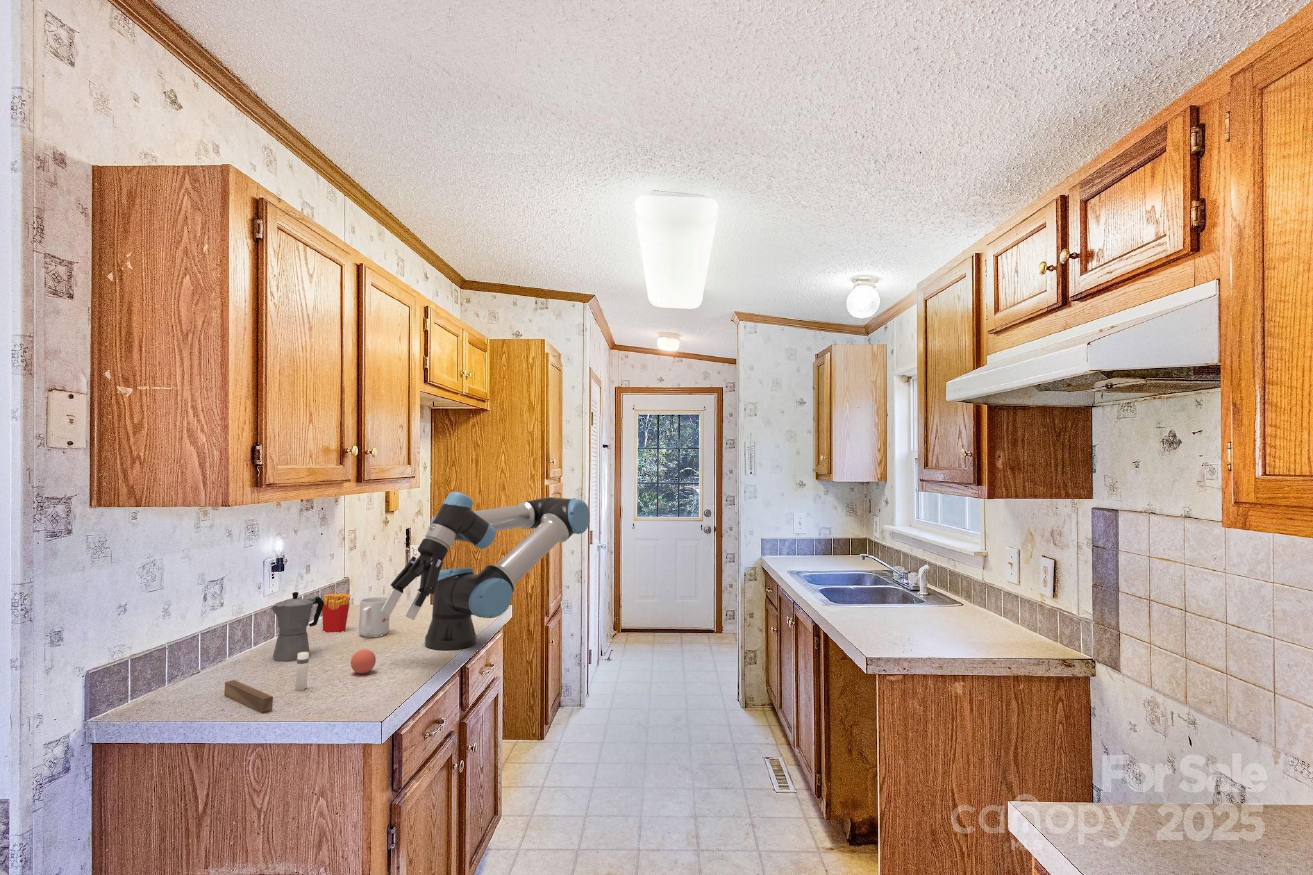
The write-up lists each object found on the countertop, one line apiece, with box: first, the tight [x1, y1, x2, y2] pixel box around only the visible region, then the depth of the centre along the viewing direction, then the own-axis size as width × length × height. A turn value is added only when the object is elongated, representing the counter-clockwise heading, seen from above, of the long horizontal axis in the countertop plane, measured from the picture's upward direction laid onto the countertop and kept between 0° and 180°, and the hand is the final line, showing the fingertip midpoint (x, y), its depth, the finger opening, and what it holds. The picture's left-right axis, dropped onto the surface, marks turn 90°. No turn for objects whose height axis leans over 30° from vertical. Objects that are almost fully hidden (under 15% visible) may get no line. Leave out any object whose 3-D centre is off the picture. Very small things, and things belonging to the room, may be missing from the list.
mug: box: [358, 596, 391, 638], centre depth 206 cm, size 12×9×11 cm
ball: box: [350, 648, 377, 675], centre depth 169 cm, size 6×6×6 cm
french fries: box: [321, 592, 351, 633], centre depth 211 cm, size 8×4×12 cm, turn 93°
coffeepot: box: [270, 591, 324, 662], centre depth 183 cm, size 15×9×18 cm, turn 151°
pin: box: [295, 651, 310, 691], centre depth 156 cm, size 2×2×8 cm
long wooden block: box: [223, 679, 274, 714], centre depth 146 cm, size 2×18×3 cm, turn 56°
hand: (396, 615), depth 170 cm, fingers open, 13 cm apart
